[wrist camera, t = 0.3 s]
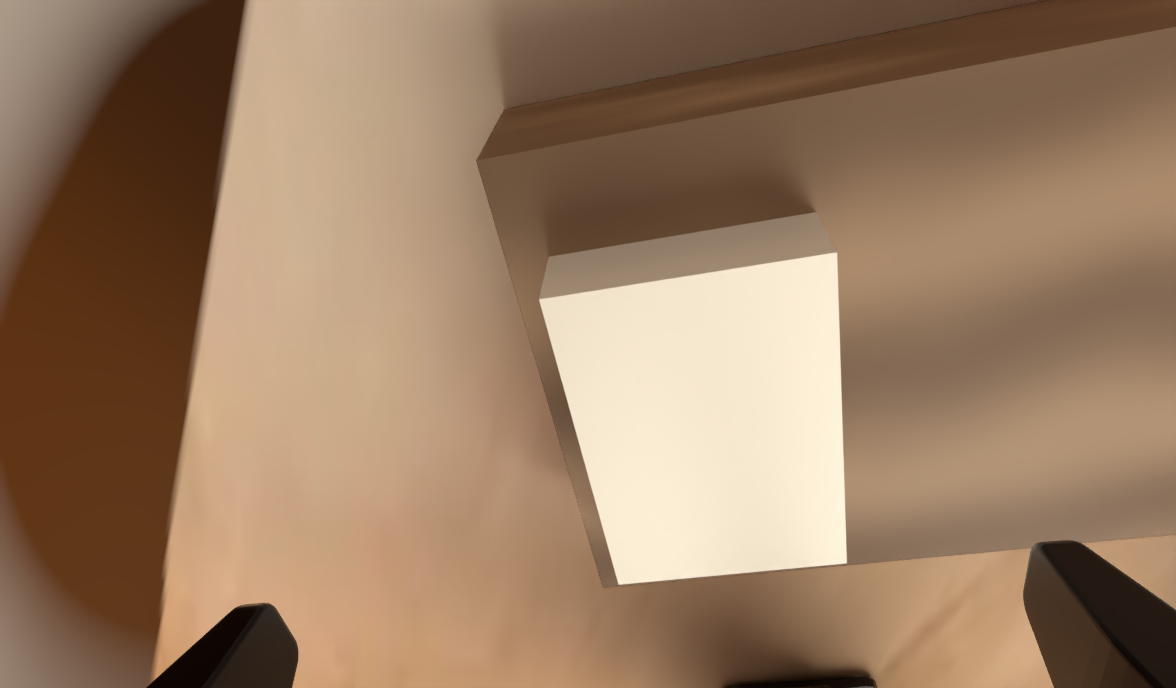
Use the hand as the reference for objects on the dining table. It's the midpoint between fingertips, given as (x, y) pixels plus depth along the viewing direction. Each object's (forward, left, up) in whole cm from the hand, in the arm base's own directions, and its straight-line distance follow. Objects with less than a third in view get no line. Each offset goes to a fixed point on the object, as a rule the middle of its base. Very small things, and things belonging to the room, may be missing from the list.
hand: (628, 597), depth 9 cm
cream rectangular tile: (-4, -1, -10) cm, 11 cm away
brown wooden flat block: (-4, -6, -14) cm, 15 cm away
